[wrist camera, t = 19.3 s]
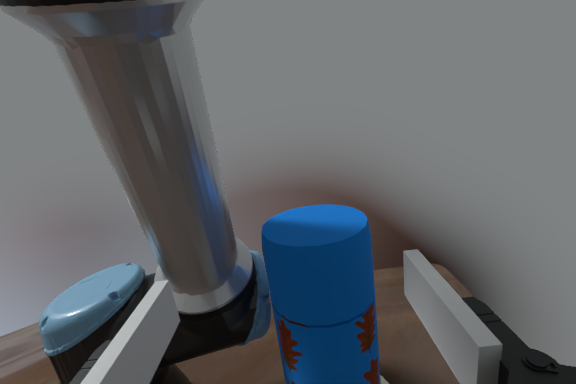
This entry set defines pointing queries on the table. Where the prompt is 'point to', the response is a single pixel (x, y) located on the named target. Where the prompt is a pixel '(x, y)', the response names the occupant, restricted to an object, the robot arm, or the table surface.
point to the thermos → (323, 294)
